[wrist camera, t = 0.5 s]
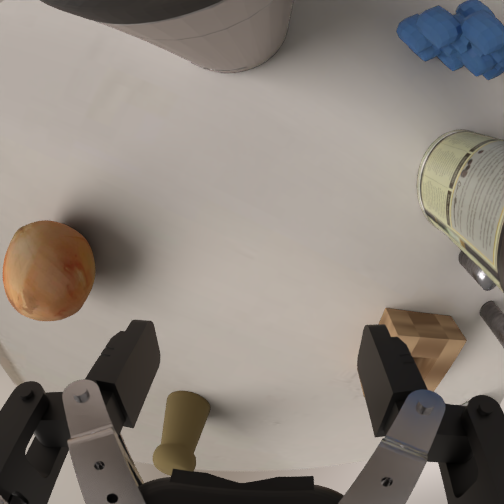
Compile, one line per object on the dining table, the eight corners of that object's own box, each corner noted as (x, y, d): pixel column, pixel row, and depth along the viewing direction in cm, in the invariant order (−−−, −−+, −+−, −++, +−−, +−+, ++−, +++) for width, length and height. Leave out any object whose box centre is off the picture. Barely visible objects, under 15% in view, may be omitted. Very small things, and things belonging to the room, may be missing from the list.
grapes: (490, 33, 18) (575, 22, 8) (489, 96, 21) (579, 108, 10) (382, -6, 19) (444, -59, 8) (380, 63, 22) (452, 41, 11)
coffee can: (503, 134, 23) (608, 171, 10) (491, 232, 27) (574, 305, 14) (417, 123, 24) (523, 150, 11) (410, 234, 28) (485, 325, 15)
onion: (70, 186, 28) (4, 222, 19) (129, 263, 31) (82, 322, 22) (26, 236, 31) (-29, 278, 22) (78, 301, 34) (34, 356, 25)
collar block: (385, 307, 32) (397, 335, 27) (450, 316, 32) (466, 340, 28) (357, 368, 35) (363, 396, 31) (419, 372, 36) (429, 397, 31)
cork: (218, 404, 40) (206, 474, 30) (197, 422, 42) (183, 486, 32) (178, 384, 38) (157, 455, 29) (160, 404, 41) (139, 468, 31)
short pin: (463, 243, 28) (488, 266, 23) (479, 247, 28) (504, 269, 23) (455, 264, 29) (477, 289, 24) (471, 267, 29) (494, 291, 24)
